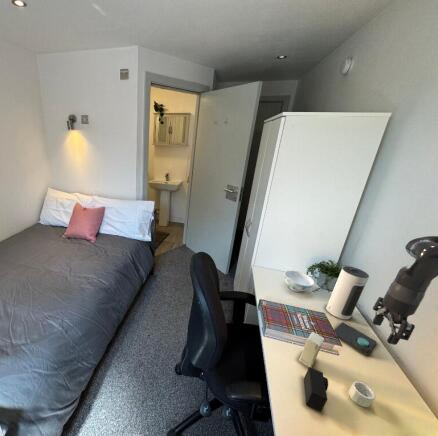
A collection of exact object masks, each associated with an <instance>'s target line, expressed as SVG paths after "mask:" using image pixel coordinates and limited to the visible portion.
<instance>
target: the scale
mask: <svg viewBox="0 0 438 436" xmlns="http://www.w3.org/2000/svg"><path fill="white" fill-rule="evenodd" d="M333 331H334V332H335V333H336V335H337V337H338V338H337V337H336V338H337V339H339V340H340V341H342V342H343V343H345V344H346V345H348V346H350V347H351V348H353V349H354V350H355V351H358V352H360V353H361V354H363V355H364V356H366V357H367V356H368V355H369V354H370V353H371V352H372V350H373V348H374V347H375V345H376V344H377V340H376V339H374V338H372V337H370V336H368V335H366V334H364V333H363V332H361V331H360V330H358V329H356V328H354V327H352V326H351V325H350V324H349V325H348V324H347V323H345V322H344V321H342V322H341V323H340V324H339V325H338V326H336V328H334V330H333ZM358 338H363V339H365V340H367V341H368V342H369V345H368V347H363V346H361V345H360V344H358V343H357V340H358Z"/></svg>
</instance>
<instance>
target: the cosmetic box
mask: <svg viewBox="0 0 438 436" xmlns="http://www.w3.org/2000/svg"><path fill="white" fill-rule="evenodd" d="M324 340H325V338H324V337H323V336H321V335H320V334H318V333H316V332H315V331H311V333H310V335H309V336H308V337H307V339H306V341H305V344H304V346H303V349H302V352H301V354H300V357H299V359H298V361H299V362H300V363H301V364H303V365H304V366H306V367H308V368H309V367H311V368H313V365H314V363H315V361H316V359H317V357H318V355H319V352H320V349H321V348H322V345H323V343H324Z"/></svg>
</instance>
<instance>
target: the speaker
mask: <svg viewBox="0 0 438 436" xmlns="http://www.w3.org/2000/svg"><path fill="white" fill-rule="evenodd" d="M369 278H370V275H369V273H368V272H366V271H364V270H362V269H360V268H358V267H354V266H349V265H344V266H342V268H341V270H340V272H339V274H338V277H337V280H336V283H335V285H334V287H333V290H332V292H331V294H330V297H329V300H328V302H327V305H326V307H325V308H326V311H327V312H328V313H329V314H330V315H332V316H334V317H335V318H338V319H341V320H344V321H345V320H350V319H351V317H352V315H353V313H354V310H355V309H356V307H357V305H358V302H359V300H360V297H361V296H362V293H363V291H364V289H365V286H366V284H367V283H368V280H369Z"/></svg>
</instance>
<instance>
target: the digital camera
mask: <svg viewBox="0 0 438 436" xmlns="http://www.w3.org/2000/svg"><path fill="white" fill-rule="evenodd" d="M303 387H304V388H303V389H304V397H305V398H304V399H305V406H307V407H309V408H311V409H313V410H315V411H316V412H319V413H322V410H323V409H324V407H325V405H326V403H327V402H328V394H327V391H328V389H329V379H328V378H327V377H325V376H324V372H322V371H320V370H318V369H315V368H313V367H308V368H307V370H306V373H305V375H304V377H303Z"/></svg>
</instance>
